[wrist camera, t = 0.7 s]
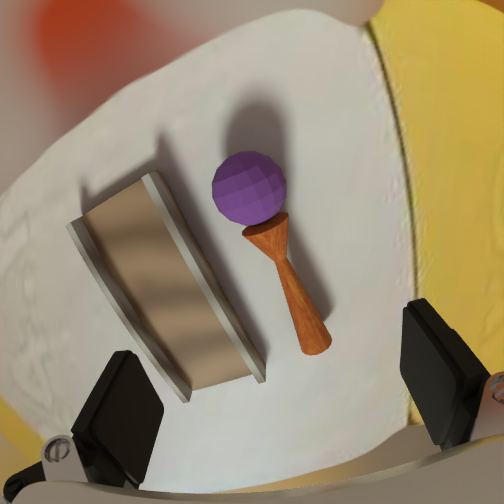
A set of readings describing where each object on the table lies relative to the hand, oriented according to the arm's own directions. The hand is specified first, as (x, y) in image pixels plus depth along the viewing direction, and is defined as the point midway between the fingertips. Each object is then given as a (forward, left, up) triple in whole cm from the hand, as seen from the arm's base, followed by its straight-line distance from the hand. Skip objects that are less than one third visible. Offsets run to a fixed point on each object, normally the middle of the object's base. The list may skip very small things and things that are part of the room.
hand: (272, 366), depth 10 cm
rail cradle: (-4, +13, -20) cm, 24 cm away
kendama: (-4, 0, -20) cm, 21 cm away
